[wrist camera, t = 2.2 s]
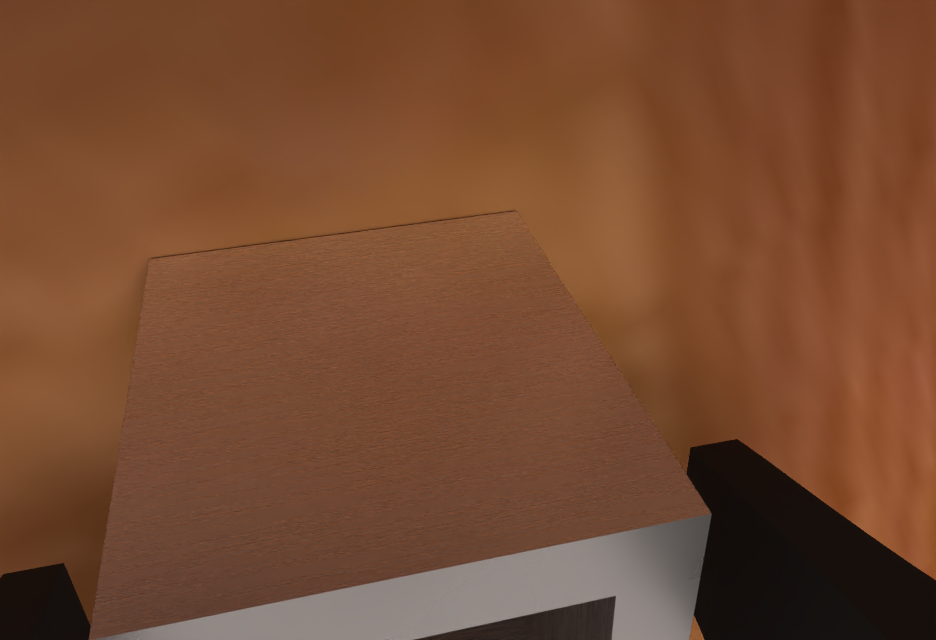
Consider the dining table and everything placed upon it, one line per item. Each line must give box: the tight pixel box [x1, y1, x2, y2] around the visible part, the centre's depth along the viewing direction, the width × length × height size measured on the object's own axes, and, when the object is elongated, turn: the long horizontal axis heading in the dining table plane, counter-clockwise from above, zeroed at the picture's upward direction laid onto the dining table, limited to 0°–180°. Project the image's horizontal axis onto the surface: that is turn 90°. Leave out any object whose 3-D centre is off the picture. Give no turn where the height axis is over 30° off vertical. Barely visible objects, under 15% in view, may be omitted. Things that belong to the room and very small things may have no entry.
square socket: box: [89, 211, 712, 640], centre depth 11 cm, size 5×5×6 cm
